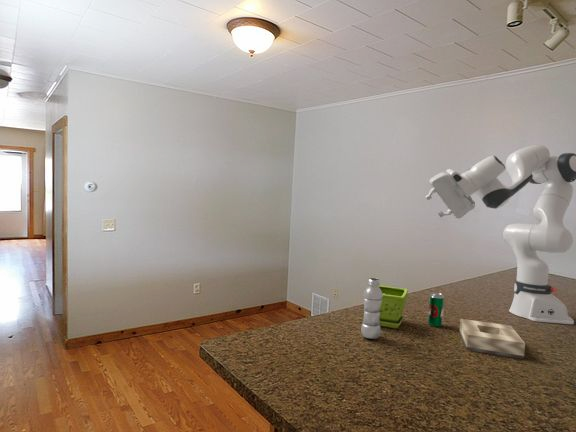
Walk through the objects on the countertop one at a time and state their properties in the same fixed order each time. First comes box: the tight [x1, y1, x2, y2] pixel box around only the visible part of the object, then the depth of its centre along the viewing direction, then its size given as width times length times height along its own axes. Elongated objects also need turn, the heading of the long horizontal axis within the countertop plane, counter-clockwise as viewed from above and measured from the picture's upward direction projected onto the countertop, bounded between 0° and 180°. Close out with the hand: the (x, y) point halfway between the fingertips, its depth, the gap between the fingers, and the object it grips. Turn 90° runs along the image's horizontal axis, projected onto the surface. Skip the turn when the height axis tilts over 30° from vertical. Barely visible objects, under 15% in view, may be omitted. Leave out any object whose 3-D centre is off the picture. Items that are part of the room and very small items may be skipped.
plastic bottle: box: [360, 277, 384, 340], centre depth 121 cm, size 6×7×20 cm
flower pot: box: [379, 285, 409, 329], centre depth 136 cm, size 14×14×13 cm
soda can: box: [427, 292, 445, 328], centre depth 137 cm, size 5×5×12 cm
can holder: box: [458, 318, 526, 360], centre depth 121 cm, size 16×16×5 cm
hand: (432, 207), depth 146 cm, fingers open, 8 cm apart
